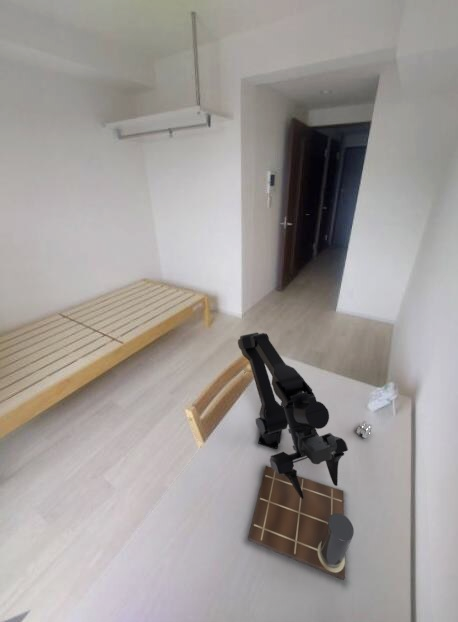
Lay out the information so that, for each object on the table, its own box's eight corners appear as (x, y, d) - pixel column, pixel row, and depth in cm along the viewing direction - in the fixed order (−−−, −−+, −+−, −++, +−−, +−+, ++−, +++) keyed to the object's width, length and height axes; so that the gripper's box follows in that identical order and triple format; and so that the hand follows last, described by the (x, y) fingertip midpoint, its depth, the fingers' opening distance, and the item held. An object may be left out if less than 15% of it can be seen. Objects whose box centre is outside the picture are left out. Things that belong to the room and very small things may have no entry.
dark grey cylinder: (316, 556, 62) (324, 528, 56) (324, 535, 66) (333, 507, 60) (337, 574, 60) (349, 547, 53) (345, 552, 63) (357, 524, 57)
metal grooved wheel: (362, 427, 95) (365, 417, 92) (371, 433, 92) (374, 423, 90) (355, 435, 92) (358, 425, 89) (363, 441, 90) (367, 431, 87)
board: (248, 540, 66) (248, 537, 66) (265, 468, 82) (265, 465, 81) (343, 580, 60) (345, 577, 59) (342, 493, 76) (343, 490, 75)
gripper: (277, 440, 58) (298, 521, 55) (350, 416, 63) (374, 490, 59) (262, 432, 69) (279, 500, 65) (325, 413, 73) (344, 475, 70)
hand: (319, 491), depth 64 cm, fingers open, 9 cm apart
